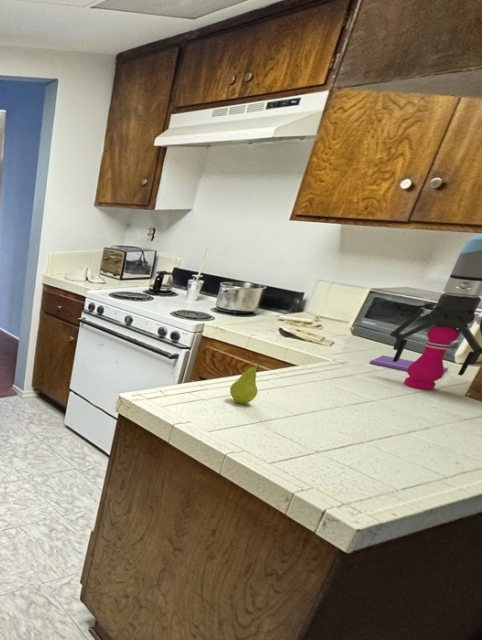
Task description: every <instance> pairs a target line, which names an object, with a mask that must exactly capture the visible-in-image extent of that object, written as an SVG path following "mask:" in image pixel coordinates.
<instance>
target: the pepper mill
mask: <svg viewBox="0 0 482 640" xmlns="http://www.w3.org/2000/svg"><path fill="white" fill-rule="evenodd" d="M426 337H427V339H428V340H426V341H425V342H426V343H424V347H425V348H424V350H423V353H422V354H421V356H419V357H418V358H417V359H416V360H414V362H413V363H412V364H411V365H410V366H409V368H408V369H407V371H406V373H407V375H408V377H405V380H404V381H403V384H404V385H405V386H407V387H409V388H413V389H418V390H425V391H426V390H427V391H430V390H431V391H433V390H434V389H435V388H436V385H437V383H436V381H438V380H440V379H442V377H443V376H444V374H445V372H444V357H445V354H446V352H447V351H448V350H450V349H451V347H452V343H453V342H455V341H457V340H458V339H459V337H460V330H459V329H458V328H457V329H453V328H450V327H445V326H438V327H437V326H436V325H434V326H433V327H431V328H429V330H428V331H427V333H426Z"/></svg>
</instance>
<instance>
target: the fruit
mask: <svg viewBox="0 0 482 640" xmlns="http://www.w3.org/2000/svg"><path fill="white" fill-rule="evenodd" d="M262 364H264V361H261V362H259V363H258V364H256V365H255V366H251V367H249V368H247V369H246V370H245V371H244V372H243V373H242V374H241V375H240V377H239V378H238V379H237V380H236V381H235V382H233V383H232V384H231V386H230V388H229V390H230V391H229V392H230V393H229V394H230V395H231V397H232V399H233V401H234V402H236V403H237V404H243V405H244V404H248V403H250V402H252V401H253V400H254V399H255V398H256V397H257V395H258V387H257V383H256V380H257V379H256V378H257V369H258V367H259V366H261V365H262Z"/></svg>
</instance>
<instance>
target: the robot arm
mask: <svg viewBox="0 0 482 640" xmlns="http://www.w3.org/2000/svg"><path fill="white" fill-rule="evenodd" d="M442 291H443V292H444V293H442V294H440V296H439V298H438V300H437V302H436V305H435V307H434V308H433V309H427V308H425V307H419V308H418V309H417V310H416V311H415V312H414V315H412V316H411V317H409V319H407V320H405V322H403V323H402V324H401V325H399V326H398V327H397V328H396V329H395V330H393V331H392V332H390V333H389V335H390V337H393V338H395V339H396V341H395V342H394V345H393V350H394V351H396V352H395V355H394V356H393V357H394V359H393V361H394V362H397V361H398V360H399V359H401V356H402V354H403V351H404V350H405V347H406V345H407V343H408V341H409V340H408V339H406V338H409V337H410V336H412V335H415V334H417V333H419V332H421V331H423V330H425V329H428V328H429V327H431V326H437V327H438V326H445V327H450V328H453V329H457V330H458V331H459V333H461V334H462V336H463V338H464V339H465V340H466V342H467V344H468V345H469V346H470V349H471V351H469V352H468V354H467V356H466V358H465V359H464V362H463V364H462V365H461V367H460V369H459V371H458V373H457V375H458V376H464V375H465V372H466V371H467V369H468V366H469V365H472V366H473V365H475V364H476V363H477V362H478V360H479V358H480V357H481V355H482V346H481V345H480V343H479V341H478V340H477V339H476V337H475V336H474V334H473V333H472V331H471V329H470V327H469V326H468V324H469V323H471V322H473V321H475V322H476V325H479V331H480V334H481V336H482V316H478V315H476V314H475V313H476V311H477V309H478V307H479V305H480V303H481V301H482V298H481V296H482V235H474V236H471V237H469V238H467V240H466V241H465V244H464V245H463V247H462V249H461V251H460V252H459V255H458V256H457V259H456V262H455V264H454V266H453V268H452V271H451V273H450V275H449V277H448V279H447V281H446V284H445V285H444V287H443V289H442ZM426 315H429V316H430V318H431V320H429V321H427V322H425V323H423V324H421V325H419V326H417V327H415V328H413V329H411V330H409V331H406V332H404V333H403V334H402V332H403V331H404V330H406V329H407V328H408V327H409V326H410V325H412V324H414V323H415V322H416V321H418V319H420V318H422V317H425V316H426Z"/></svg>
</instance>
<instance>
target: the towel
mask: <svg viewBox="0 0 482 640" xmlns="http://www.w3.org/2000/svg"><path fill="white" fill-rule="evenodd" d="M394 357H395V356H389V355H384V354H383V355H380V356H379V357H376V358H375V359H371V360H370V361H369V362H368V363H369V364H370V365H373V366H374V365H375V366H379V367H383V368H387V369H388V368H389V369H393V370H398V371H403V372H407V369H408V368H409V366H410V365H411V364H412V363H413V362H415V360H414V361H413V360H409V359H402V358H399V360H398V361H397V362H394V361H393V359H394ZM443 367H444V366H443ZM448 369H449V368H448V367H444V373H446V372H448Z"/></svg>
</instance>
